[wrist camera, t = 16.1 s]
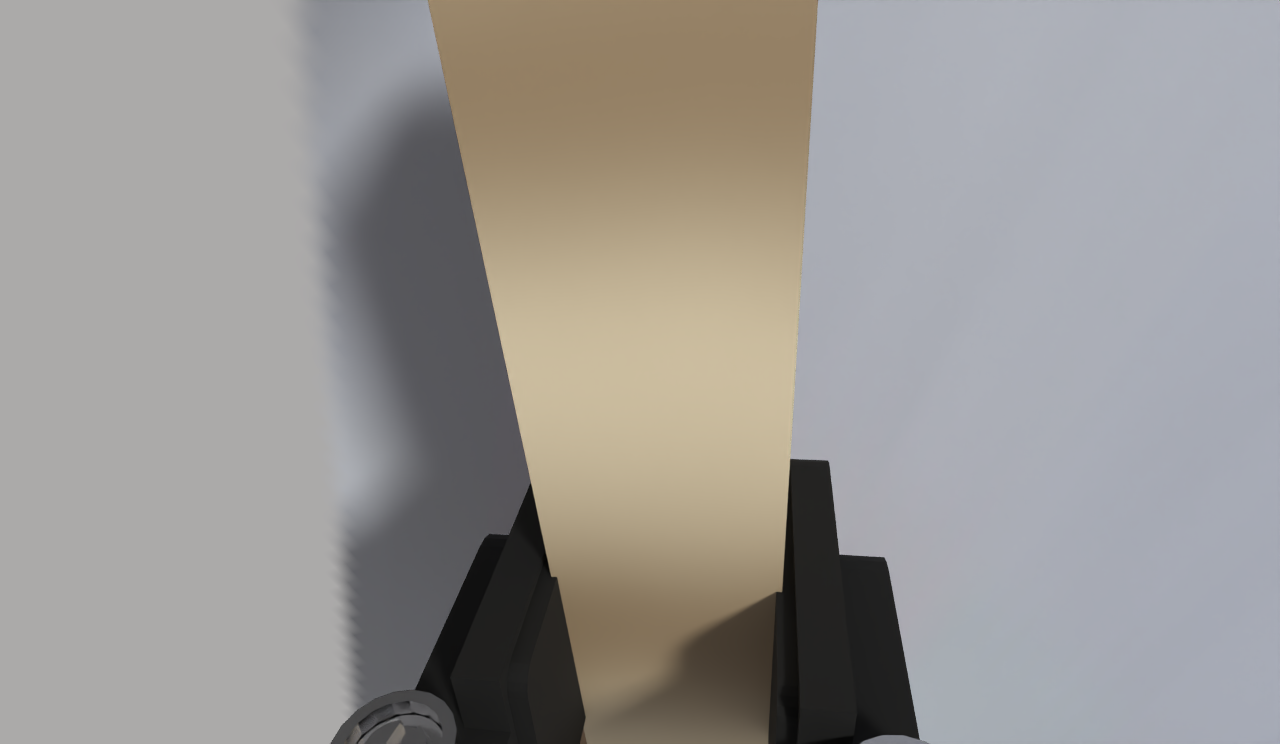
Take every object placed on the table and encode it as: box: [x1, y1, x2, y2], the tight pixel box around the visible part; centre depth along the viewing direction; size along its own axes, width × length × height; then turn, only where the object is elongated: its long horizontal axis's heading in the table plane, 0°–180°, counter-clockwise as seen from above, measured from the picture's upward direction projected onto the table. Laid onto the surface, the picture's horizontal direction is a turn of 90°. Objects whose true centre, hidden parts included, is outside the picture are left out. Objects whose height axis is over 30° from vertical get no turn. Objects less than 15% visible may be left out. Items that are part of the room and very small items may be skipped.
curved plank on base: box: [428, 0, 818, 744], centre depth 11 cm, size 20×7×5 cm, turn 3°
